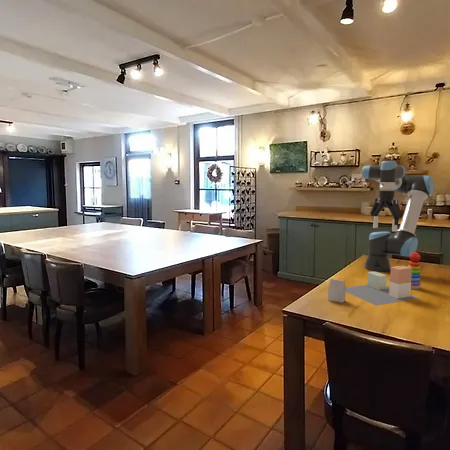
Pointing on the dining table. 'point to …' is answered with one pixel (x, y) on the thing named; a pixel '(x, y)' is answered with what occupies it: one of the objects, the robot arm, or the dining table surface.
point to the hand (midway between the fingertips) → (384, 229)
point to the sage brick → (376, 280)
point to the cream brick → (400, 290)
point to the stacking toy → (415, 270)
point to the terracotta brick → (400, 274)
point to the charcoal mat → (375, 295)
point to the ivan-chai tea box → (336, 290)
